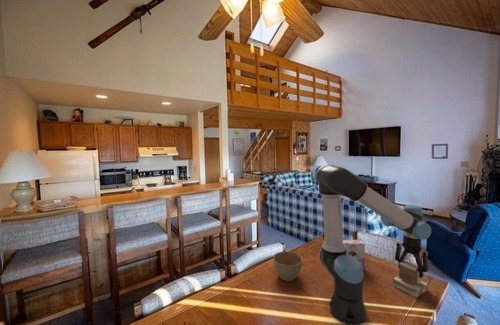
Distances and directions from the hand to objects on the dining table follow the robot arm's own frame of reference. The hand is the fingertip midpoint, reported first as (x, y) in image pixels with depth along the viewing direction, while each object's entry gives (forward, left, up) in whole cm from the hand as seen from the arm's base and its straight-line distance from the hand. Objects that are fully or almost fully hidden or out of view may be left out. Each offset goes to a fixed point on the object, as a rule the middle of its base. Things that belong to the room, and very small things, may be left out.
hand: (410, 278), depth 116 cm
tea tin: (0, 0, 0) cm, 0 cm away
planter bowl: (-47, +41, -5) cm, 63 cm away
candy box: (-9, +28, -5) cm, 30 cm away
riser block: (0, 0, -5) cm, 5 cm away
